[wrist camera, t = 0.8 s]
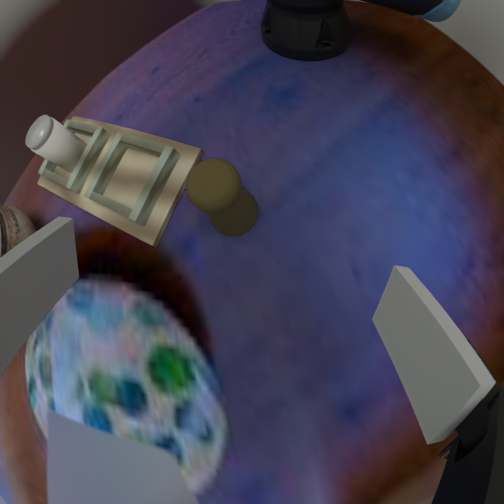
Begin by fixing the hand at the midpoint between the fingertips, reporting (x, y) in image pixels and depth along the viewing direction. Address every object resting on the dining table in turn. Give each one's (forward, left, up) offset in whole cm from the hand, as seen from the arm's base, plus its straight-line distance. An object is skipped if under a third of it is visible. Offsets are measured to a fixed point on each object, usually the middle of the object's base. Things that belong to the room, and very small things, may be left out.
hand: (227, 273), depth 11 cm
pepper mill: (-6, -8, -24) cm, 26 cm away
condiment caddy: (-5, -30, -24) cm, 39 cm away
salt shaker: (-5, -37, -22) cm, 44 cm away
